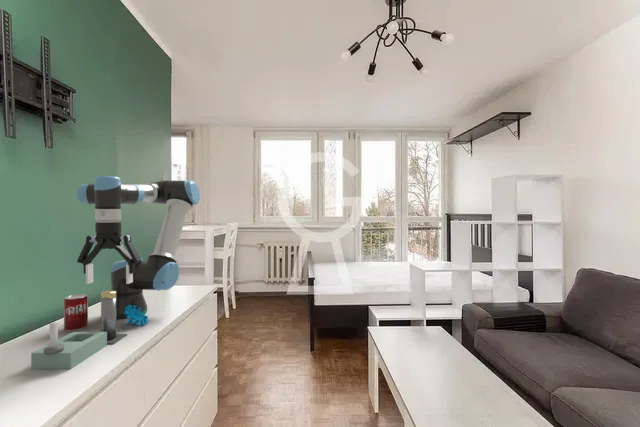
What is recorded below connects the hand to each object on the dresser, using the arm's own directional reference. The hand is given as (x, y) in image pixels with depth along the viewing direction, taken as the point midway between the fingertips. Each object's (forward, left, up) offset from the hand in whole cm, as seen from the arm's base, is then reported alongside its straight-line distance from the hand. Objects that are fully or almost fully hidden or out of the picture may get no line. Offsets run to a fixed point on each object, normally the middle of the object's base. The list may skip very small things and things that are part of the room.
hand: (109, 283), depth 114 cm
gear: (-15, +1, -20) cm, 25 cm away
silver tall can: (+1, 0, -19) cm, 19 cm away
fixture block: (+14, -3, -19) cm, 24 cm away
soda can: (-10, -19, -20) cm, 29 cm away
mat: (0, 0, -19) cm, 19 cm away
